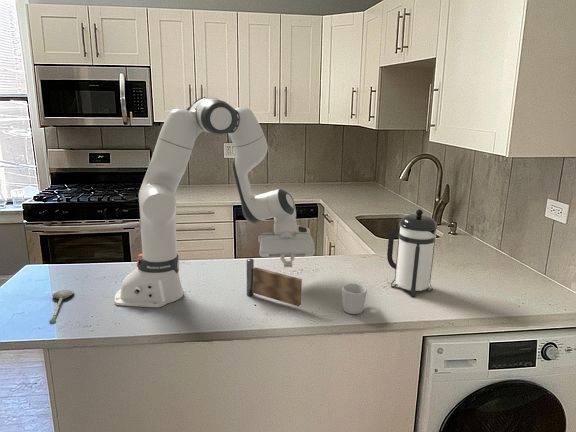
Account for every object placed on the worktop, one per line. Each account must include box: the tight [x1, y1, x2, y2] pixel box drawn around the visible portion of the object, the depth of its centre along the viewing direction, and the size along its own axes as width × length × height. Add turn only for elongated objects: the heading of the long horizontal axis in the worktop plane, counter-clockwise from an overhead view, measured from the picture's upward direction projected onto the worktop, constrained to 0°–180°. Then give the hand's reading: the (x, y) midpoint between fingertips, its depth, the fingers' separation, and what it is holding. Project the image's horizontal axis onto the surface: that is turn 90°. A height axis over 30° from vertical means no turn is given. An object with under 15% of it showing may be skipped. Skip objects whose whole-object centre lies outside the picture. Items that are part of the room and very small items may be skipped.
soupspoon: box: [48, 289, 75, 323], centre depth 141 cm, size 22×3×7 cm
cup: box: [341, 282, 368, 315], centre depth 142 cm, size 11×8×8 cm
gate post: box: [246, 258, 255, 297], centre depth 150 cm, size 2×2×13 cm
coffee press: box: [386, 209, 438, 298], centre depth 157 cm, size 17×16×30 cm
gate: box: [253, 267, 303, 307], centre depth 145 cm, size 18×2×9 cm, turn 59°
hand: (288, 266), depth 157 cm, fingers closed
